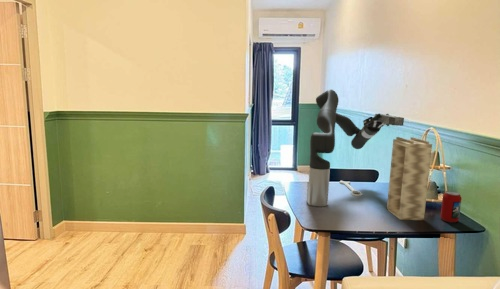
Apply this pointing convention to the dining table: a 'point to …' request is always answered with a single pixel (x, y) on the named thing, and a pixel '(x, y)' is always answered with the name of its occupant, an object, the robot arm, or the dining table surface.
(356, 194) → the wrench
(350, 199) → the dining table surface
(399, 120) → the gray block
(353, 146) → the robot arm
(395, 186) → the beige patterned box
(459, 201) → the beverage can
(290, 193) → the dining table surface
